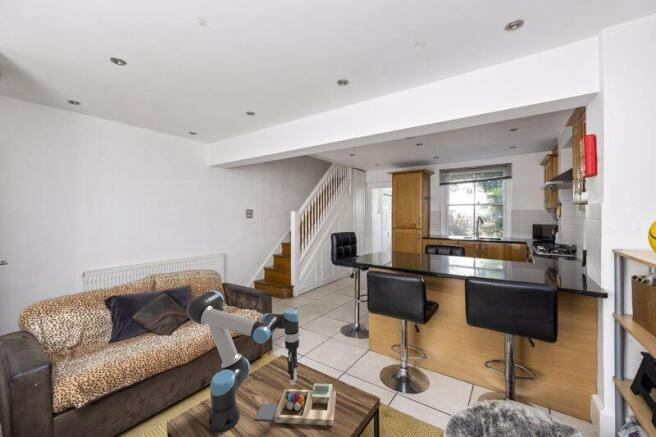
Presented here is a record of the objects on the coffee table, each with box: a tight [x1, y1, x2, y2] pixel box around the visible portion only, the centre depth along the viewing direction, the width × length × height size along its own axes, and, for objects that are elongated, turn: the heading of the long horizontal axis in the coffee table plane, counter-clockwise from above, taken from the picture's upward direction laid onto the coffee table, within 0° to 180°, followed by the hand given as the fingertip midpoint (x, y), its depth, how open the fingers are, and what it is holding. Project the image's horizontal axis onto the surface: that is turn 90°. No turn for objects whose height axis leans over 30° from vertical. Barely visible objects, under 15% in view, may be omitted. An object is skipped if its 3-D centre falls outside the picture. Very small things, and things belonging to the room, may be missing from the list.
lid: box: [312, 383, 332, 398], centre depth 156 cm, size 10×11×4 cm
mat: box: [254, 402, 279, 422], centre depth 146 cm, size 11×11×1 cm
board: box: [273, 383, 337, 427], centre depth 151 cm, size 30×27×3 cm
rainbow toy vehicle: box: [286, 392, 305, 412], centre depth 150 cm, size 8×10×7 cm
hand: (293, 382), depth 148 cm, fingers open, 3 cm apart
